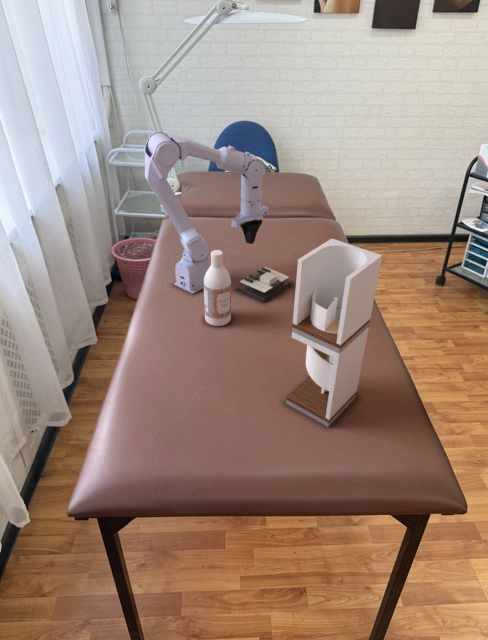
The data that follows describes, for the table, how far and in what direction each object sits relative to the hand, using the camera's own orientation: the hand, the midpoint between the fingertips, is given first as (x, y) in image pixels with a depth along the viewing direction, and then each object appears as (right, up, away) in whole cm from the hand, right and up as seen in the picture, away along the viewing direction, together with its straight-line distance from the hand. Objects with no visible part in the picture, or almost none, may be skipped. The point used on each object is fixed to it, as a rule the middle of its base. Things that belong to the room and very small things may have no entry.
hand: (249, 242), depth 151 cm
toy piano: (+4, -14, -1) cm, 14 cm away
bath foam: (-9, -23, -15) cm, 29 cm away
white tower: (+15, -41, -40) cm, 59 cm away
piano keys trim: (+4, -11, -3) cm, 12 cm away
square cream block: (+5, -12, -4) cm, 14 cm away
